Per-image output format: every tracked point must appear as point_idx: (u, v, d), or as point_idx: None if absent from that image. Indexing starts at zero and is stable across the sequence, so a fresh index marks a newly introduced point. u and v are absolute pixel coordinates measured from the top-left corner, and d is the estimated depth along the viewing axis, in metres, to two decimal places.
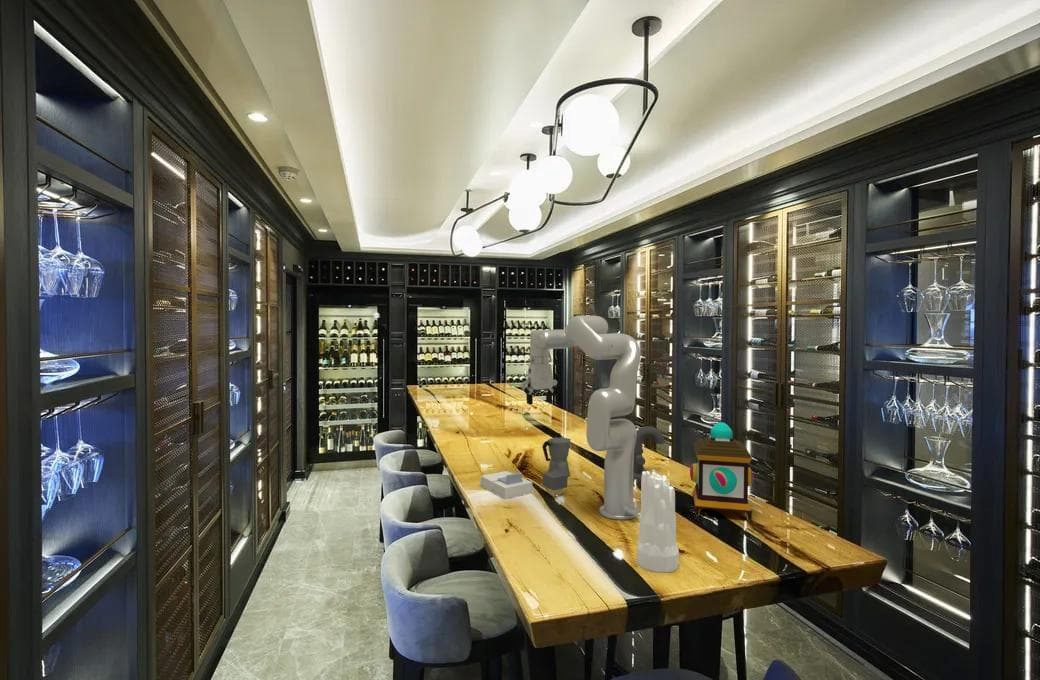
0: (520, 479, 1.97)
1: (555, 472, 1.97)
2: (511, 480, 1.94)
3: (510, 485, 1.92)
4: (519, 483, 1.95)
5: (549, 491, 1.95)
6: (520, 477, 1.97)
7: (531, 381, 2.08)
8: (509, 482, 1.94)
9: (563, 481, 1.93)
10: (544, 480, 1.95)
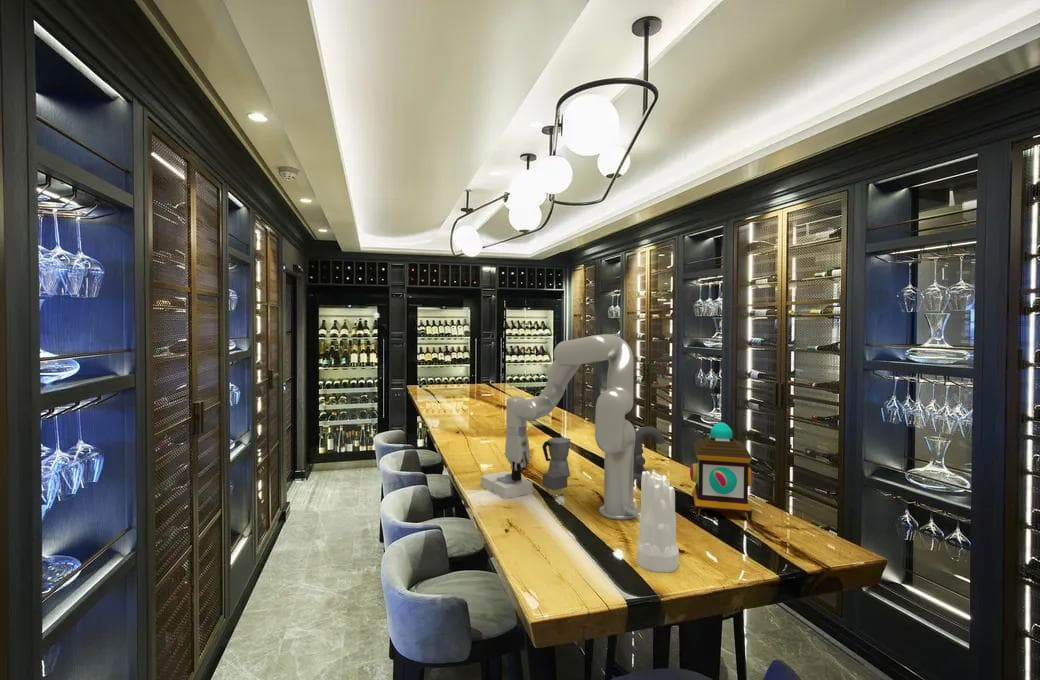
0: None
1: (555, 472, 1.97)
2: (510, 479, 1.95)
3: (510, 485, 1.92)
4: (519, 483, 1.95)
5: (549, 491, 1.95)
6: None
7: (527, 454, 1.91)
8: (508, 481, 1.94)
9: (563, 481, 1.93)
10: (544, 480, 1.95)
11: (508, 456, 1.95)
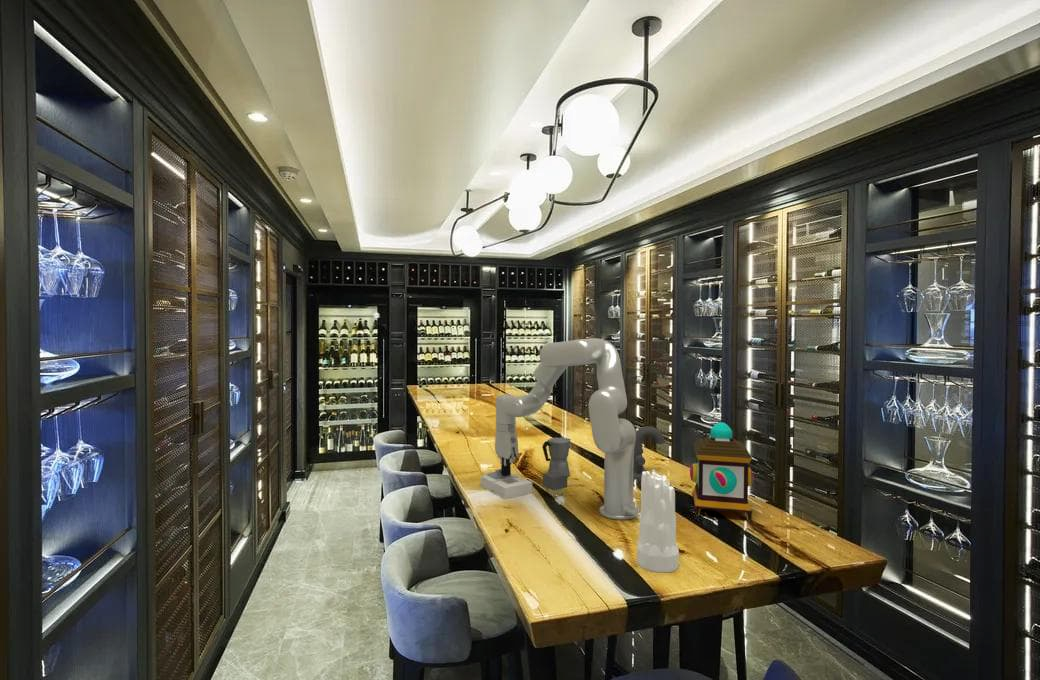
0: None
1: (555, 472, 1.97)
2: (500, 475, 2.01)
3: (510, 485, 1.92)
4: (519, 483, 1.95)
5: (549, 491, 1.95)
6: None
7: (516, 450, 1.97)
8: (498, 477, 2.01)
9: (563, 481, 1.93)
10: (544, 480, 1.95)
11: (497, 452, 2.01)
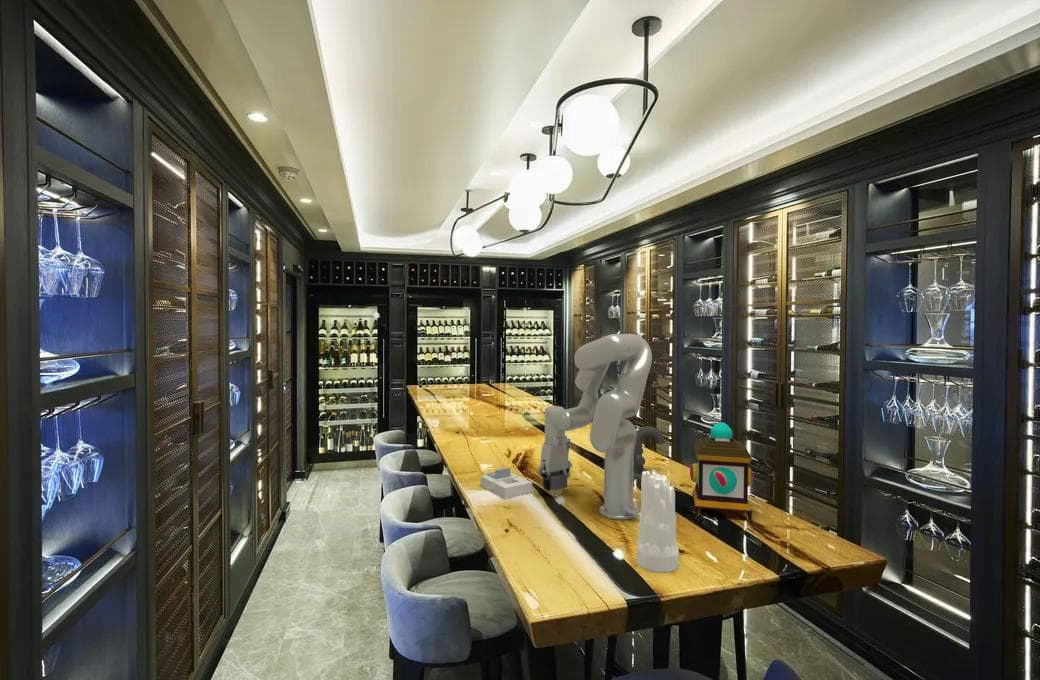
0: (508, 474, 2.03)
1: (555, 472, 1.97)
2: (500, 475, 2.01)
3: (510, 485, 1.92)
4: (519, 483, 1.95)
5: (549, 491, 1.95)
6: (508, 472, 2.03)
7: None
8: (498, 477, 2.01)
9: (563, 481, 1.93)
10: None
11: (553, 468, 1.91)
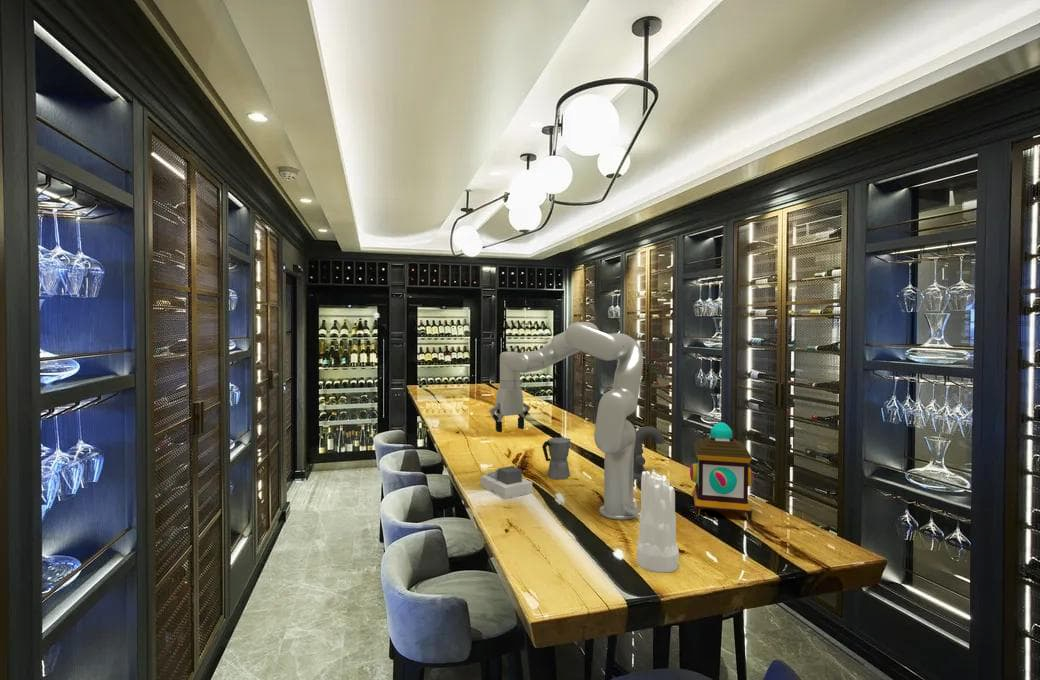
0: None
1: (511, 467, 2.00)
2: None
3: (510, 485, 1.92)
4: (519, 483, 1.95)
5: None
6: None
7: None
8: None
9: (518, 476, 1.96)
10: (499, 475, 1.98)
11: (508, 411, 1.94)
